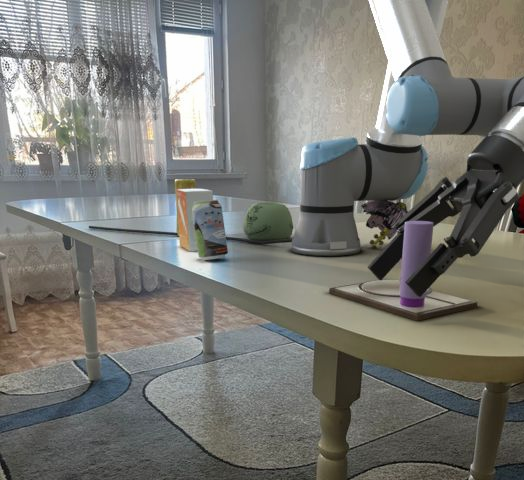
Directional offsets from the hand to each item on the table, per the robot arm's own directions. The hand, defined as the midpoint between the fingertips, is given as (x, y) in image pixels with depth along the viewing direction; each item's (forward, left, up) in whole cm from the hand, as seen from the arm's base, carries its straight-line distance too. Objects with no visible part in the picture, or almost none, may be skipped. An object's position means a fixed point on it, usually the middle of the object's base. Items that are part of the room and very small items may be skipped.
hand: (392, 281), depth 72 cm
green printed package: (-49, -2, -5) cm, 49 cm away
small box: (-64, +2, -5) cm, 64 cm away
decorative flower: (-39, +39, -4) cm, 56 cm away
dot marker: (+1, +3, -3) cm, 5 cm away
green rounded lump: (-69, +24, -5) cm, 73 cm away
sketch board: (-4, +6, -4) cm, 9 cm away
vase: (-84, +9, -5) cm, 85 cm away
